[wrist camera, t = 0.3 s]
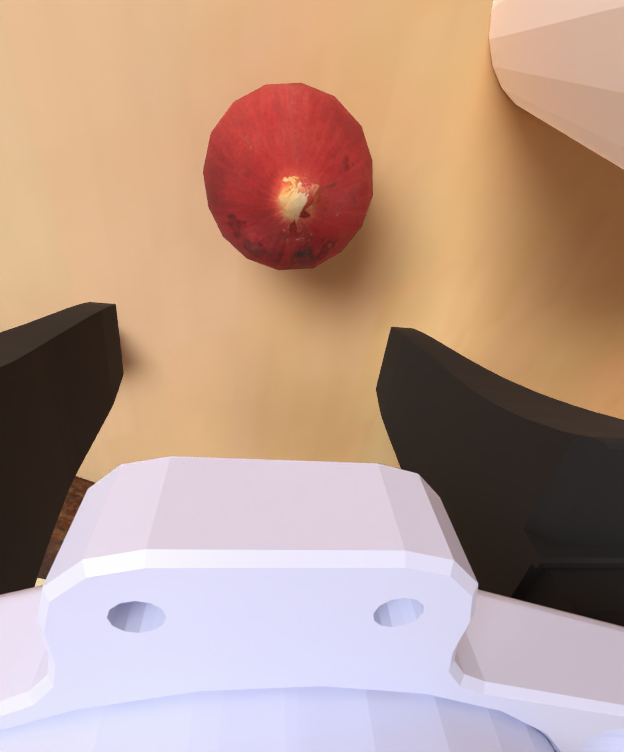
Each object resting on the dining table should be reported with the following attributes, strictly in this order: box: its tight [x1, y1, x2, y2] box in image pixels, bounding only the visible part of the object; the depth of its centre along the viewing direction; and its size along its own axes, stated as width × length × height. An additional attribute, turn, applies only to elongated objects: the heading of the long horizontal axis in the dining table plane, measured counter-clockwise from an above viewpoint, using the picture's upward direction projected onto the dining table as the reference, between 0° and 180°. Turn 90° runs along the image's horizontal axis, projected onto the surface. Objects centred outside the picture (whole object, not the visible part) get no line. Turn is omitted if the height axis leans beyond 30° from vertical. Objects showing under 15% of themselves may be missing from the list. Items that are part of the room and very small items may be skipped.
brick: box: [37, 476, 95, 579], centre depth 25 cm, size 11×4×5 cm, turn 56°
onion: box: [203, 83, 373, 270], centre depth 15 cm, size 6×6×8 cm
